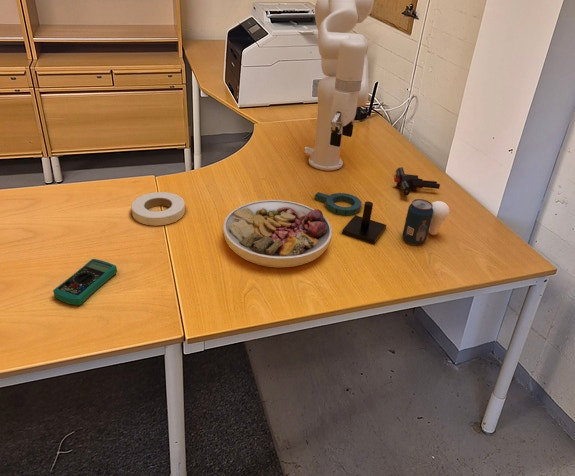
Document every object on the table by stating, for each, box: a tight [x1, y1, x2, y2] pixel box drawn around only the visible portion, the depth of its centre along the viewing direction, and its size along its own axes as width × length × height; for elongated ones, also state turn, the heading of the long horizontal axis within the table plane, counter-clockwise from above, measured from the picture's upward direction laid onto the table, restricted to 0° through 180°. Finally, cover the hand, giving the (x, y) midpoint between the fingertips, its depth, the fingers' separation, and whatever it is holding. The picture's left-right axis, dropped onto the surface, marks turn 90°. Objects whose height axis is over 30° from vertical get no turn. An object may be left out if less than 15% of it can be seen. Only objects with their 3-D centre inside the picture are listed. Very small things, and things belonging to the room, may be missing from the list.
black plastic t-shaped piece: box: [393, 166, 441, 197], centre depth 177 cm, size 5×20×15 cm
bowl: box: [222, 199, 333, 268], centre depth 144 cm, size 30×30×8 cm
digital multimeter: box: [52, 258, 118, 306], centre depth 124 cm, size 7×15×3 cm, turn 159°
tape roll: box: [131, 191, 186, 227], centre depth 154 cm, size 16×15×3 cm
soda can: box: [402, 198, 433, 246], centre depth 148 cm, size 7×7×12 cm
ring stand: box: [341, 200, 387, 245], centre depth 151 cm, size 10×10×10 cm
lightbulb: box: [428, 200, 450, 236], centre depth 151 cm, size 6×6×11 cm
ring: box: [314, 191, 362, 217], centre depth 165 cm, size 15×11×2 cm
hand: (341, 140), depth 158 cm, fingers open, 9 cm apart
